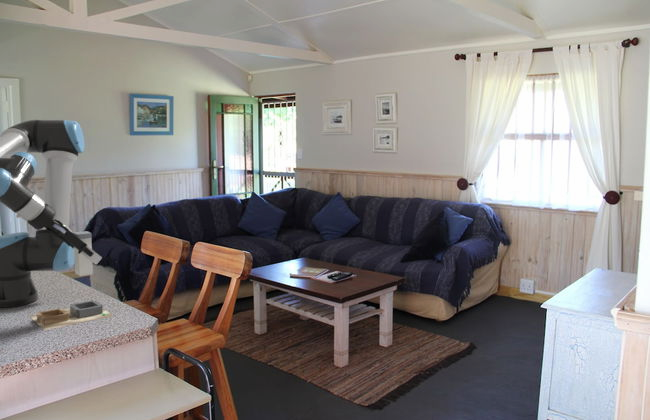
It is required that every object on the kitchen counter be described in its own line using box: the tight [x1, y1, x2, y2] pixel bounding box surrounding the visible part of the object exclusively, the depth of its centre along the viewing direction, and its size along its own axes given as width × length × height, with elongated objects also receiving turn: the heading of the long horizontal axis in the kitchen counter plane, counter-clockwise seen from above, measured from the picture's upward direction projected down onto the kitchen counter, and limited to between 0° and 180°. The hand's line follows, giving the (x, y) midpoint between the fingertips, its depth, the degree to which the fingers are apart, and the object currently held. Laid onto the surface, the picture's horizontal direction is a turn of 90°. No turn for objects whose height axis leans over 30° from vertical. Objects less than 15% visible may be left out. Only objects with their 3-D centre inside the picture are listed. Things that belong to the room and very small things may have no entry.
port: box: [69, 299, 106, 318], centre depth 177 cm, size 10×8×2 cm
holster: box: [36, 308, 69, 325], centre depth 171 cm, size 7×7×2 cm
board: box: [29, 308, 115, 331], centre depth 175 cm, size 16×20×1 cm
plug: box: [73, 230, 94, 277], centre depth 175 cm, size 4×4×13 cm
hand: (95, 259), depth 178 cm, fingers closed on plug, 4 cm apart
